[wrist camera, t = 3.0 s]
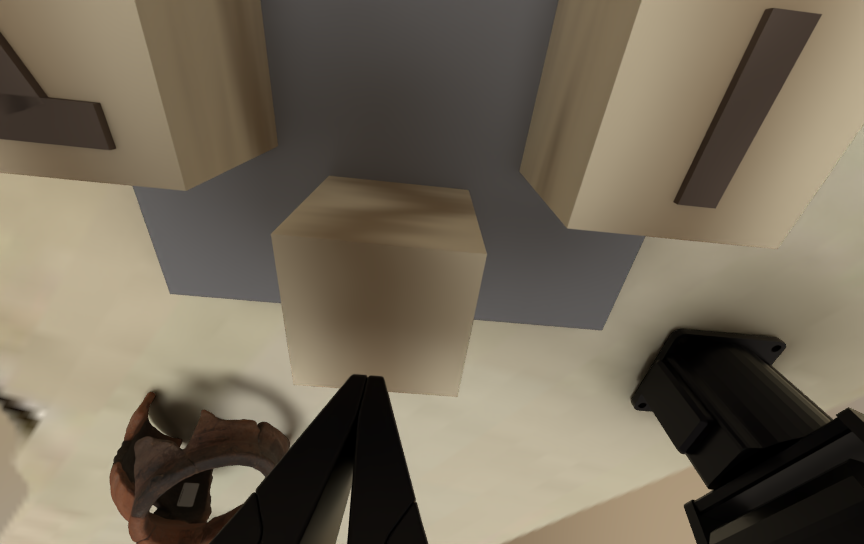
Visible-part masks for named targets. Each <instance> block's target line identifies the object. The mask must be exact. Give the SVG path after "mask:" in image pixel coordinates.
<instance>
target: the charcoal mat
mask: <svg viewBox="0 0 864 544" xmlns="http://www.w3.org/2000/svg"><path fill="white" fill-rule="evenodd" d="M260 1H261V9H262V18H263V26H264V34H265V42H266V50H267V59H268V67H269V75H270V83H271V91H272V100H273V108H274V116H275V124H276V132H277V141H278V146H277V147H275V148H273V149H271V150H269V151H267V152H265V153H263V154H261V155H259V156H257V157H255V158H253V159H251V160H249V161H247V162H245V163H242V164H240V165H238V166H236V167H234V168H232V169H230V170H228V171H226V172H224V173H222V174H220V175H218V176H216V177H214V178H212V179H210V180H208V181H206V182H203V183H201V184H199V185H197V186H195V187H193V188H191V189H189V190H187V191H181V190H171V189H161V188H151V187H141V186H133V189H134V192H135V194H136V197H137V200H138V203H139V206H140V209H141V212H142V214H143V217H144V220H145V223H146V226H147V229H148V232H149V235H150V237H151V240H152V243H153V246H154V249H155V252H156V255H157V257H158V260H159V263H160V266H161V269H162V272H163V275H164V278H165V280H166V283H167V286H168V289H169V292H170V294H178V295H189V296H201V297H213V298H225V299H237V300H249V301H260V302H272V303H281V298H280V291H279V285H278V278H277V272H276V265H275V258H274V252H273V245H272V239H271V233H272V232H273V231H274V230H275V229H276V228H277V227H278V226H279V225H280V224H281V223H282V222H283V221H284V220H285V219H286V218H287V217H288V216H289V215H290V214H291V213H292V212H293V211H294V210H295V209H296V208H297V207H298V206H299V205H300V204H301V203H302V202H303V201H304V200H305V199H306V198H307V197H308V196H309V195H310V194H311V193H312V192H313V191H314V190H315V189H316V188H317V187H318V186H319V185H320V184H321V183H322V182H323V181H324V180H325V179H326V178H327V177H328V176H337V177H347V178H357V179H366V180H376V181H386V182H396V183H405V184H415V185H425V186H435V187H445V188H454V189H464V190H469V193H470V196H471V200H472V203H473V207H474V210H475V214H476V217H477V221H478V224H479V228H480V231H481V235H482V238H483V242H484V245H485V249H486V252H487V257H486V262H485V267H484V271H483V276H482V281H481V286H480V291H479V296H478V300H477V305H476V310H475V315H474V320H485V321H497V322H509V323H521V324H533V325H545V326H556V327H568V328H580V329H592V330H602V329H603V327H604V325H605V323H606V321H607V319H608V316H609V314H610V312H611V310H612V308H613V306H614V303H615V301H616V299H617V297H618V295H619V292H620V290H621V288H622V286H623V284H624V282H625V279H626V277H627V275H628V273H629V271H630V269H631V266H632V264H633V262H634V260H635V258H636V255H637V253H638V251H639V249H640V247H641V245H642V242H643V240H644V238H645V236H639V235H629V234H619V233H609V232H598V231H588V230H578V229H568V228H566V227H565V225H564V224H563V223H562V222H561V221H560V219H559V218H558V217H557V216H556V215H555V214H554V212H553V211H552V210H551V209H550V208H549V206H548V205H547V204H546V203H545V202H544V200H543V199H542V198H541V197H540V196H539V194H538V193H537V192H536V191H535V190H534V188H533V187H532V186H531V185H530V184H529V182H528V181H527V180H526V179H525V178H524V177H523V175H522V174H521V173H520V172H519V171H520V166H521V162H522V158H523V153H524V149H525V145H526V140H527V136H528V132H529V127H530V123H531V119H532V114H533V110H534V106H535V101H536V97H537V92H538V88H539V84H540V79H541V75H542V71H543V66H544V62H545V58H546V53H547V49H548V45H549V40H550V36H551V32H552V27H553V23H554V18H555V14H556V10H557V5H558V1H559V0H260Z"/></svg>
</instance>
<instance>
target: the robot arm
mask: <svg viewBox="0 0 864 544" xmlns="http://www.w3.org/2000/svg"><path fill="white" fill-rule="evenodd" d="M785 348H786V344H785V343H784V342H783V341H782V340H780V339H779V338H777V337H768V336H756V335H745V334H733V333H721V332H710V331H698V330H686V329H679V330H676V331H674V332H673V333H672V334H671V335H670V336H669V338H668V340H667V341H666V343H665V345H664V346H663V348H662V350H661V351H660V353H659V355H658V357H657V358H656V360H655V362H654V363H653V365H652V367H651V368H650V370H649V372H648V373H647V375H646V377H645V378H644V380H643V382H642V383H641V385H640V387H639V388H638V390H637V392H636V393H635V395H634V397H633V398H632V400H631V403H632V405H633V406H634V408H635V409H636V410H639V411H652V412H653V413H654V414H655V416H656V417H657V419H658V421H659V422H660V424H661V425H662V427H663V428H664V430H665V432H666V433H667V435H668V436H669V438H670V439H671V441H672V442H673V444H674V446H675V447H676V449H677V450H678V451H679V452H680V453H681V454H686V456H687V457H688V459H689V460H690V462H691V463H692V465H693V466H694V468H695V469H696V471H697V472H698V474H699V475H700V477H701V478H702V480H703V482H704V483H705V485H706V486H707V487H708V489H712V491H711V492H709V493H707V494H706V495H704V496H702V497H701V498H699V499H697V500H691V501H689V502H687V503H686V504H684V508H685V511H686V514H687V517H688V520H689V523H690V526H691V528H692V531H693V534H694V537H695V540H696V543H697V544H864V414H862V413H860V412H858V411H856V410H854V409H851V408H849V407H848V408H846V409H845V410H843V411H841V412H840V413H838V414H836V416H837V418H835V419H834V420H833V419H832V418H831V417H830V416H829V415H827V414H826V413H825V412H824V411H823V410H822V409H821V408H820V407H818V406H817V405H816V404H815V403H814V402H813V401H812V400H810V399H809V398H808V397H807V396H806V395H805V394H804V393H802V392H801V391H800V390H799V389H798V388H797V387H796V386H794V385H793V384H792V383H791V382H790V381H789V380H788V379H786V378H785V377H784V376H783V375H782V374H781V373H780V372H778V371H777V370H776V369H775V368H774V367H773V366H772V364H773V363H774V361H775V360H776V359H777V358H778V357H779V355H780V354H781V353H782V352H783V351H784V349H785ZM351 486H352V490H351V503H350V515H349V528H348V541H347V544H428V541H427V537H426V534H425V531H424V527H423V524H422V520H421V517H420V513H419V509H418V505H417V503H416V502H415V501H416V498H415V494H414V490H413V486H412V483H411V479H410V475H409V471H408V467H407V463H406V460H405V456H404V452H403V448H402V444H401V440H400V437H399V433H398V429H397V425H396V421H395V417H394V413H393V410H392V406H391V402H390V398H389V394H388V390H387V387H386V383H385V379H384V377H383V376H375V375H370V376H369V377H368V376H367V375H362V374H353V375H351V376H350V377H349V378H348V379H347V381H346V382H345V383H344V384H343V385H342V387H341V388H340V389H339V390H338V391H337V393H336V394H335V395H334V396H333V397H332V399H331V400H330V401H329V402H328V403H327V405H326V406H325V407H324V408H323V409H322V411H321V412H320V413H319V414H318V415H317V417H316V418H315V419H314V420H313V421H312V423H311V424H310V425H309V426H308V427H307V429H306V430H305V431H304V432H303V433H302V435H301V436H300V437H299V438H298V439H297V441H296V442H295V443H294V444H293V445H292V447H291V448H290V449H289V450H288V451H287V453H286V454H285V455H284V456H283V457H282V459H281V460H280V461H279V462H278V463H277V465H276V466H275V467H274V468H273V469H272V470H271V472H270V473H269V474H268V475H267V476H266V478H265V479H264V480H263V481H262V482H261V484H260V485H259V486H258V487H257V488H256V493H255V492H254V493H252V494H251V495H250V497H249V498H248V499H247V500H246V501H245V503H244V504H243V505H242V506H241V507H240V509H239V510H238V511H237V512H236V513H235V514H234V516H233V517H232V518H231V519H230V520H229V521H228V522H227V524H226V525H225V526H224V527H223V528H222V529H221V530H220V532H219V533H218V534H217V535H216V536H215V537H214V538H213V539H212V540H211V541H210V542H209V543H208V544H335V543H336V540H337V536H338V533H339V529H340V525H341V522H342V518H343V514H344V511H345V507H346V504H347V500H348V496H349V493H350V489H351Z"/></svg>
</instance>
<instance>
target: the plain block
mask: <svg viewBox="0 0 864 544" xmlns="http://www.w3.org/2000/svg"><path fill="white" fill-rule="evenodd" d="M271 239H272V245H273V252H274V258H275V265H276V272H277V278H278V285H279V291H280V298H281V305H282V311H283V318H284V325H285V331H286V338H287V344H288V351H289V358H290V364H291V371H292V377H293V384H294V385H303V386H316V387H330V388H341V387H342V385H343V384H344V383H345V382H346V381H347V379H348V378H349V377H350V376H351V375H353V374H362V375H367V376H368V377H369V376H370V375H375V376H383V377H384V379H385V383H386V387H387V390H388V392H398V393H411V394H425V395H439V396H452V397H458V392H459V387H460V382H461V378H462V373H463V368H464V363H465V358H466V353H467V349H468V344H469V339H470V334H471V329H472V325H473V320H474V315H475V310H476V305H477V300H478V296H479V291H480V286H481V281H482V276H483V271H484V267H485V262H486V257H487V252H486V249H485V245H484V242H483V238H482V235H481V231H480V228H479V224H478V221H477V217H476V214H475V210H474V207H473V203H472V200H471V196H470V193H469V190H464V189H454V188H445V187H435V186H425V185H415V184H405V183H396V182H386V181H376V180H366V179H357V178H347V177H337V176H328V177H327V178H326V179H325V180H324V181H323V182H322V183H321V184H320V185H319V186H318V187H317V188H316V189H315V190H314V191H313V192H312V193H311V194H310V195H309V196H308V197H307V198H306V199H305V200H304V201H303V202H302V203H301V204H300V205H299V206H298V207H297V208H296V209H295V210H294V211H293V212H292V213H291V214H290V215H289V216H288V217H287V218H286V219H285V220H284V221H283V222H282V223H281V224H280V225H279V226H278V227H277V228H276V229H275V230H274V231H273V232H272V233H271Z"/></svg>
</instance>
